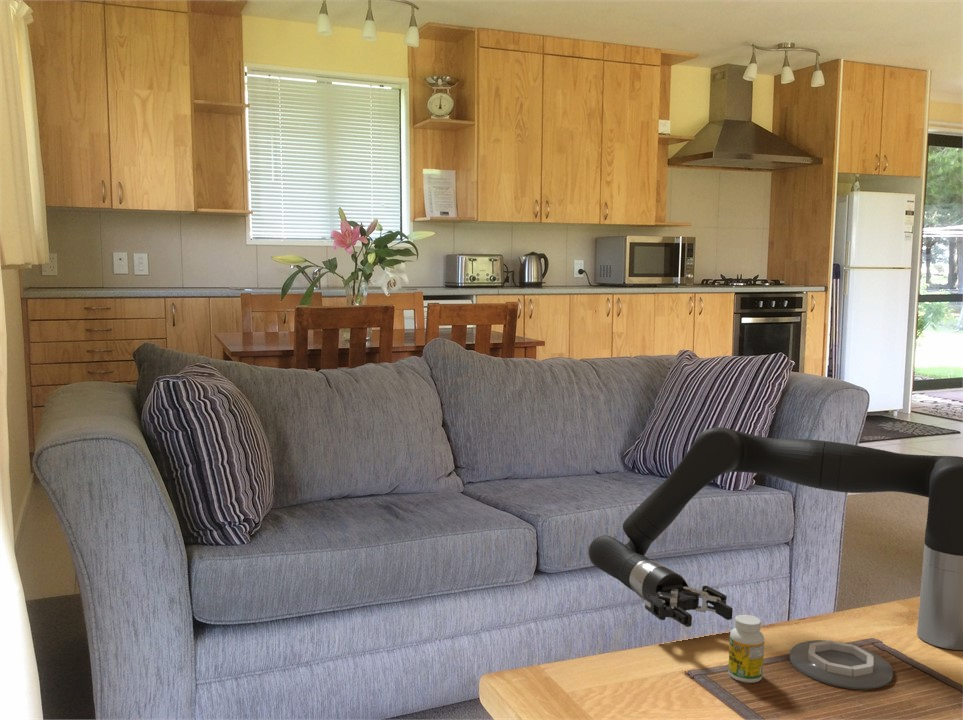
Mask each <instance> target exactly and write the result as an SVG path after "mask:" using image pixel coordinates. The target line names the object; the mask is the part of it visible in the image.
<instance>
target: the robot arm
mask: <svg viewBox="0 0 963 720" xmlns="http://www.w3.org/2000/svg"><path fill="white" fill-rule="evenodd" d="M726 473H750V474H761V475H762V474H763V475H768V476H771V477H776V478H779V479H782V480H785V481H788V482H790V483H793V484H797V485H801V486H804V487H809V488H813V489H818V490H825V491H832V492H838V493H846V494H847V493H848V494H868V493H871V494H873V493H885V492H886V493H887V492H893V493H894V492H895V493H904V494H910V495H916V496H919V497H926V498H928V505H927V514H926V515H927V517H926V525H925V531H924V542H923V543H924V544H923V554H922V555H923V557H922V570H921V581H920V592H919V593H920V594H919V603H918V605H919V606H918V617H917V618H918V619H917V628H916V629H917V630H916V635H917V636H918V638H919V639H920V640H922V641H924V642H926V643H927V644H930V645H931V646H932V645H933V646H934V647H939V648H942V649H946V650H954V651H963V457H962V456H958V455H957V456H956V455H927V454H908V453H901V452H900V453H898V452H896V451H895V452H894V451H890V450H885V449H879V448H875V447H867V446H862V445H855V444H851V443H850V444H849V443H844V442H839V441H838V442H835V441H829V440H820V439H819V440H818V439H808V438H806V439H805V438H801V439H800V438H775V437H774V438H772V437H764V436H760V435H756V434H752V433H751V434H750V433H748V432H747V433H746V432H744V431H743V432H742V431H738V430H734V429H731V428H729V427H728V428H727V427H721V426H720V427H718V426H717V427H710V428H706V429H705V430H703V431H702V432H700V433H699V434H698V435H697V437H696V438H695V440H694V442H693V443H692V445H691V446H690V448H689V449H688V451H687V452H686V454H685V455H684V456H683V458H682V459H681V461H680V462H679V464H678V465H677V466H676V467H675V469H674V470H673V471H672V472H671V473H670V474H669V476H668V477H667V478H665V480H664V481H663V482H662V483H661V484H660V485H659V486H658V487H657V488H656V489H655V490H654V491H652V492H651V494H649V496H647V497H646V499H645V500H643V501H642V502H641V503H640V504H639V506H637V507H636V508H635V509H634V510H633V511H632V512H631V513H630V515H629V516H628V517H627V518H626V519H625V520H624V521H623V523H622V529H623V532H624V533H625V535H626V537H627V538H628V539H629V540H628V542H627V543H626V544H624V543H623V542H621V541H620V540H618V539H616V538H615V537H613V536H611V535H608V534H607V535H605V534H604V535H599V536H597V537H596V538H594V539H593V540H591V541H592V542H591V543H590V544H589V547H588V558H589V560H590V562H591V564H592V565H593V566H594V567H596V568H597V569H599V570H601V571H603V572H604V573H606V574H607V575H609V576H611V577H612V578H614V579H616V580H618V581H619V582H621V583H622V585H624V586H625V587H626V588H628V589H629V590H632V592H634V593H635V594H637V596H639V597H640V599H643V600H644V609H645V610H647V611H648V612H649V613H651V615H653V616H654V617H656V618H657V619H658V620H660V621H665V620H666V618H668V619H669V620H671V621H676V622H678V623H679V624H681V625H683V626H685V627H687V628H690V627H692V624H693V623H692V622H693V616H692V614H691V613H690V612H688V611H696V612H702V613H706V612H712V613H715V614H717V615H719V617H722V618H723V619H725V620H726V621H730V620H733V608H732V607H731V606H730V605H728V604H727V595H726V594H724V593H722V592H721V591H718V590H716V589H714V588H713V587H710V586H709V585H702V589H701V590H699V589H696V588H693V587H690V586H689V585H688V583H687V581H686V579H685V578H684V577H683V576H682V575H680V574H679V573H677V572H676V571H674V570H671V568H668V567H667V566H666V565H663V564H662V563H659V562H658V561H654V560H652V559H650V558H648V557H647V556H646V554H647V552H648V550H649V548H650V546H651V544H652V543H653V542H655V540H657V539H658V538H659V536H661V534H663V533H664V531H666V530H667V528H668V527H669V526H670V525H671V524H672V523H673V522H674V520H676V518H677V517H678V516H679V514H680V513H681V512H682V511H683V509H685V507H686V506H687V504H688V503H689V502H690V501H691V500H692V499H693V497H695V495H697V494H698V493H699V492H700V491H701V490H702V489H703V488H704V487H706V486H707V485H708V484H710V483H712V482H713V481H714V480H716V479H717V478H719V477H720V476H721V475H723V474H726ZM700 598H701V600H702V601H701V605H699V604H700V603H699V601H700V600H699V599H700ZM709 604H710V605H709Z"/></svg>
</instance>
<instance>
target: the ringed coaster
mask: <svg viewBox="0 0 963 720" xmlns="http://www.w3.org/2000/svg"><path fill="white" fill-rule="evenodd" d="M789 660H790V661H789V662H790V664H791V665H792V666H793V667H794V668H795V669H796V670H797V671H799V672H800V673H801V674H803V675H805V676H806V677H808V678H810V679H812V680H815V681H818V682H820V683H822V684H826V685H830V686H834V687H837V688H843V689H850V690H873V689H874V690H875V689H879V688H883V687H885V686H887V685H889V684H890V683H891V682H892V680H893V675H894V670H893V668H892V665H891V664H890V662H888V661H887V660H886V659H884V658H883V657H882V656H880V655H879V654H877V653H875V652H873V651H870V649H869V650H868V649H867V648H864V647H860V646H858V645H856V644H855V645H854V644H851V643H847V642H846V643H845V642H841V641H834V640H827V639H826V640H821V639H817V640H806V641H801V642H799V643H797V644H795V645H793V646H792V647H791V648H790V650H789Z"/></svg>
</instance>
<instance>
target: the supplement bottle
mask: <svg viewBox="0 0 963 720" xmlns="http://www.w3.org/2000/svg"><path fill="white" fill-rule="evenodd" d="M761 623H762V622H761V619H759V618H758V617H756V616H753V615H750V614H738V615H736V616H735V618H734V628H732V629H731V630H730V633H729V648H728V668H727V669H728V671H727V673H728V675H729V676H730V677H731V678H733V679H734V680H736V681H738V682H742V683H746V684H748V683H750V684H752V683H758V682H759V681H761V679H762V678H763V672H764V655H765V654H764V653H765V635H764V634H763V632H762V631H760V630H761V628H762V627H761V625H762V624H761Z"/></svg>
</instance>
